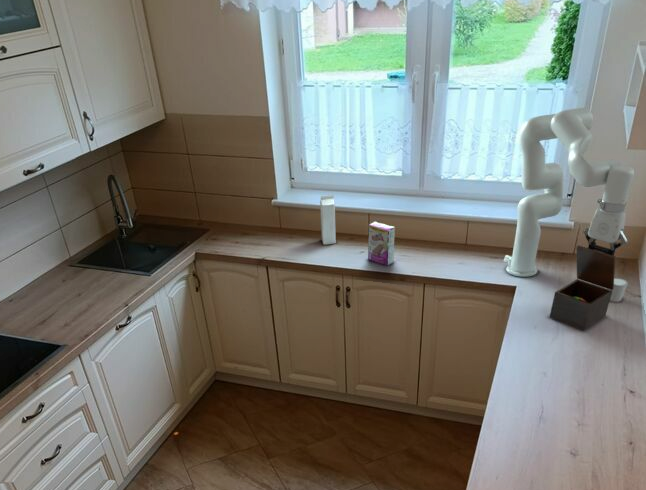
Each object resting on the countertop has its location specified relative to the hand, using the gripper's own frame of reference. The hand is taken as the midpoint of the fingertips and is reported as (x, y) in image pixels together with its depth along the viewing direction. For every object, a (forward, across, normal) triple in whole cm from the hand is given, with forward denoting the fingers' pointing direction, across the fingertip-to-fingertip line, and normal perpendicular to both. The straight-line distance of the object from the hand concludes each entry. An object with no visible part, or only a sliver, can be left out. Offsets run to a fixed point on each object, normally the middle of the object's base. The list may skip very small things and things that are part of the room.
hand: (599, 256), depth 208 cm
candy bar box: (+22, -87, -19) cm, 92 cm away
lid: (+4, 0, -1) cm, 4 cm away
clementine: (+21, -1, -6) cm, 22 cm away
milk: (+22, -121, -20) cm, 125 cm away
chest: (+22, 0, -5) cm, 23 cm away
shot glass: (+22, +2, +17) cm, 28 cm away
